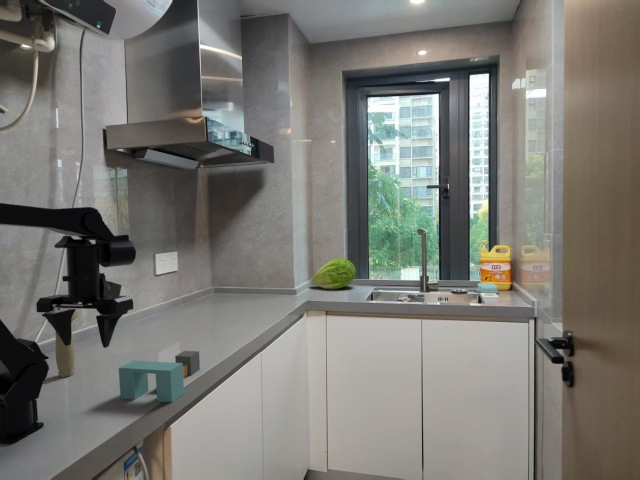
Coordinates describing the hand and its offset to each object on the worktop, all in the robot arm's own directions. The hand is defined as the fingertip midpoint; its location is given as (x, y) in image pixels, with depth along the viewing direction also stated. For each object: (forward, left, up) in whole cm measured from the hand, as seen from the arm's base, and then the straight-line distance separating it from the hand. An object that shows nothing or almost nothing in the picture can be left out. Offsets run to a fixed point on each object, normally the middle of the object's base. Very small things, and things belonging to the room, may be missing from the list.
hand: (86, 346), depth 87 cm
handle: (+13, +18, -12) cm, 25 cm away
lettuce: (+140, -22, -12) cm, 142 cm away
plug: (+15, -11, -12) cm, 22 cm away
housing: (+5, -11, -12) cm, 17 cm away
